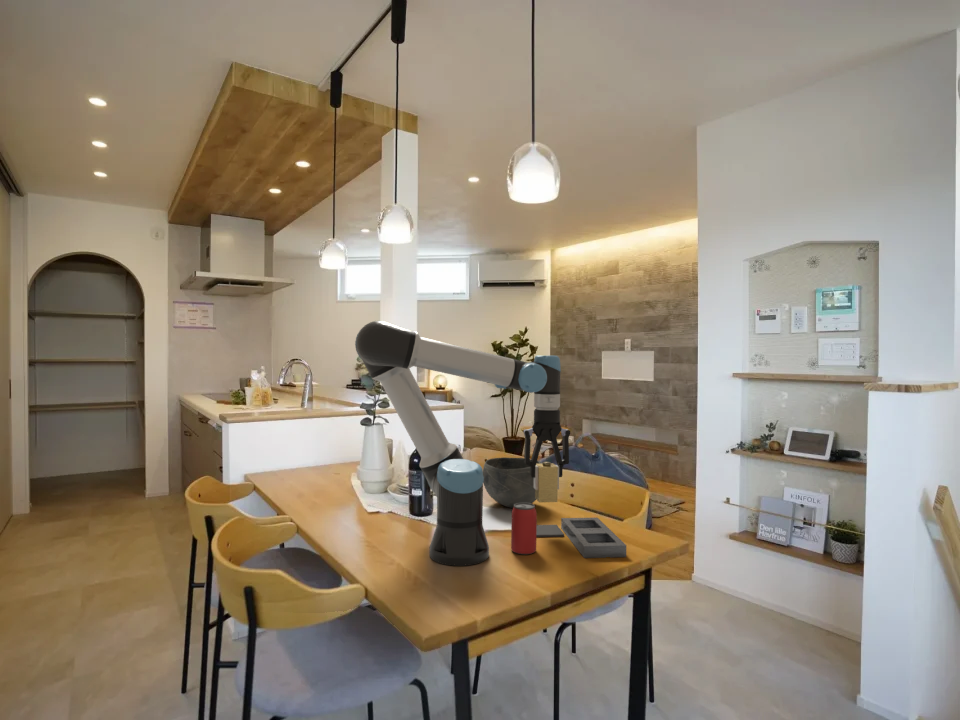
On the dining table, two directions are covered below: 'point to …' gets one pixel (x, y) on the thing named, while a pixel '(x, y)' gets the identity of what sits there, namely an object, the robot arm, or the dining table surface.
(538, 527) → the mat
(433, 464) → the robot arm
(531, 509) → the beer can
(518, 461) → the bowl
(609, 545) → the tray
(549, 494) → the tall wooden peg block
